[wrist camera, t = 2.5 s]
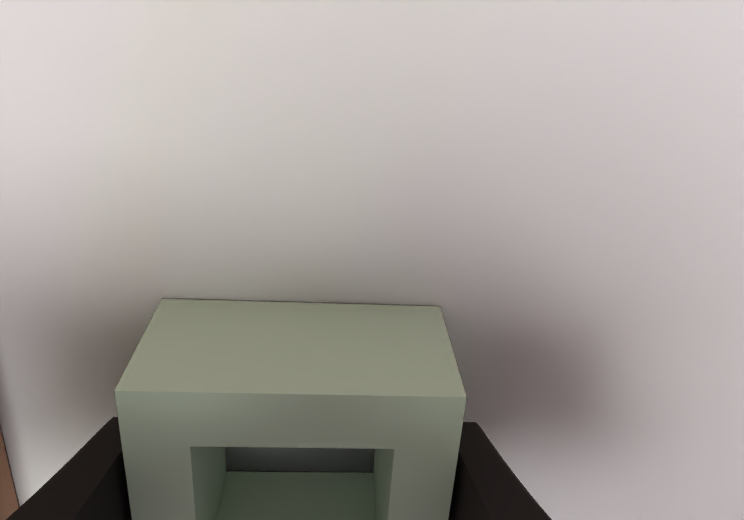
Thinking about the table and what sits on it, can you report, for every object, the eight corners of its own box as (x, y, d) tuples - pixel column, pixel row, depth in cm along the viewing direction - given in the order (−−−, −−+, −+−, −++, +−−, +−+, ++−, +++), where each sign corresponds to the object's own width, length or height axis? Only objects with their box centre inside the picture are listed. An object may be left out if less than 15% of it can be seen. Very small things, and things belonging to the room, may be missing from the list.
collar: (440, 306, 13) (466, 397, 10) (415, 507, 15) (432, 624, 13) (162, 298, 13) (114, 390, 10) (180, 506, 15) (146, 626, 12)
